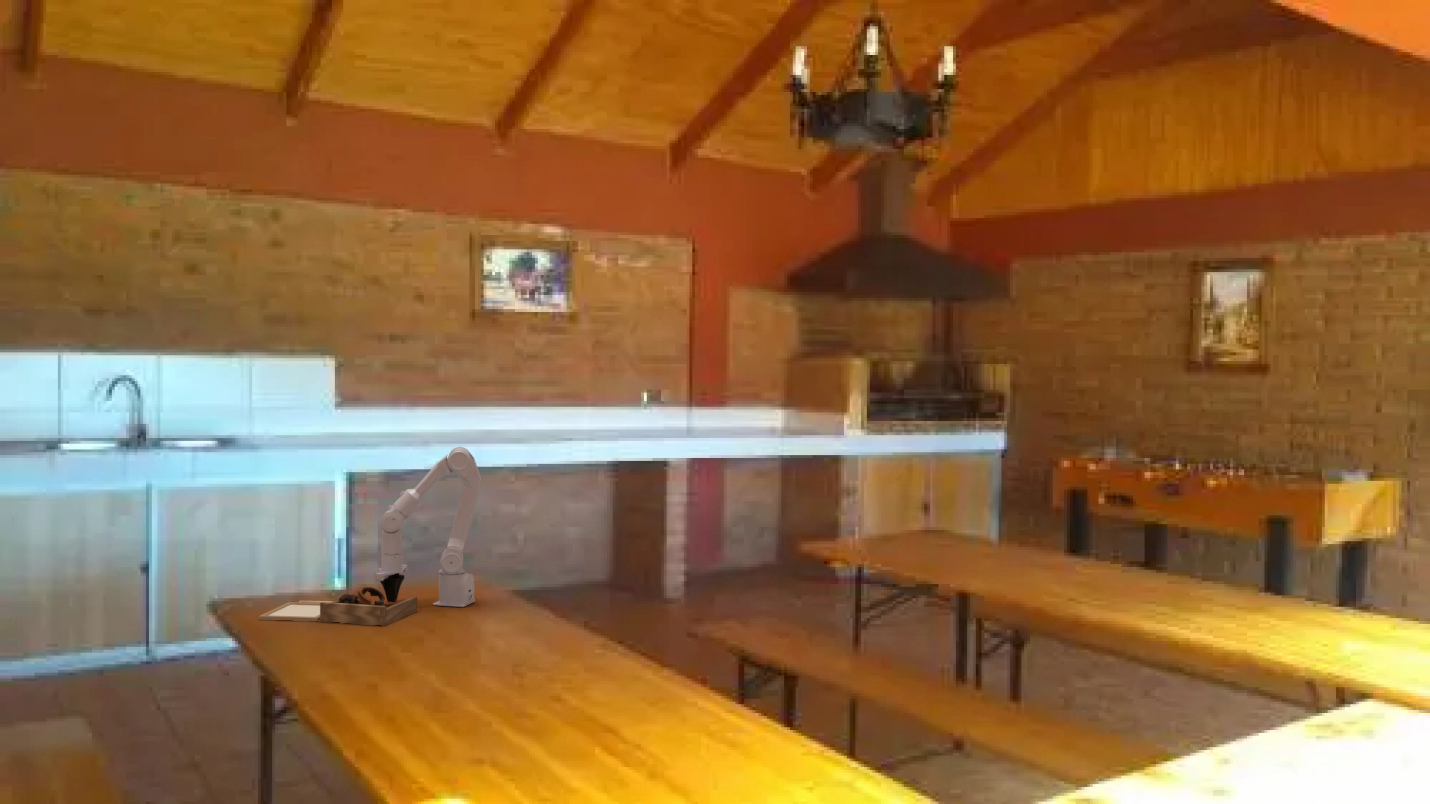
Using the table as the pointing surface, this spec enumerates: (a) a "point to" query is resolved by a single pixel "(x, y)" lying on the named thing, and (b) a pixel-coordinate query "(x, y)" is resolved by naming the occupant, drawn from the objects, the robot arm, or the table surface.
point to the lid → (295, 611)
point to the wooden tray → (366, 612)
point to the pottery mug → (363, 597)
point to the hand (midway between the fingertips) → (391, 601)
